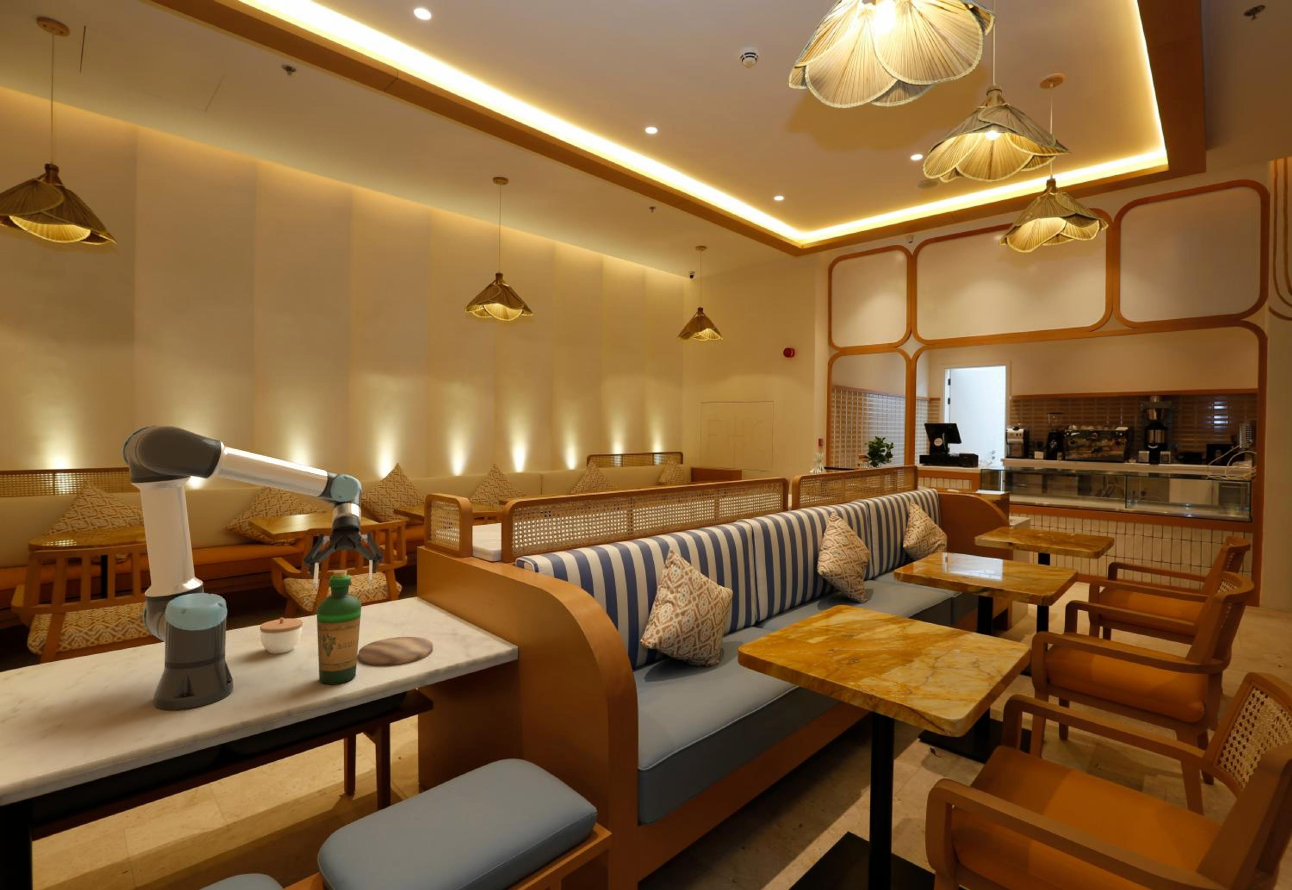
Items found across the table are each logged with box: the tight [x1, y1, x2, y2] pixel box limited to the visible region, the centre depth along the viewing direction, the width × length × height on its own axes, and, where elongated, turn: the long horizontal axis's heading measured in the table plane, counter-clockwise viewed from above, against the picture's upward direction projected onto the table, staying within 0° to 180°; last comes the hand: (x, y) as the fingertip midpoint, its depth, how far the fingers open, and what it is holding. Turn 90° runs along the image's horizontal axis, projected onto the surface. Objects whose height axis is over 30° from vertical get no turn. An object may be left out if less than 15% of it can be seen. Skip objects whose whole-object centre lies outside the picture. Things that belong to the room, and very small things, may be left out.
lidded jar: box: [259, 617, 303, 655], centre depth 176 cm, size 11×11×9 cm
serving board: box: [358, 636, 434, 667], centre depth 176 cm, size 20×20×2 cm
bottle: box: [316, 569, 362, 685], centre depth 156 cm, size 11×11×28 cm
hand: (343, 584), depth 165 cm, fingers open, 13 cm apart
